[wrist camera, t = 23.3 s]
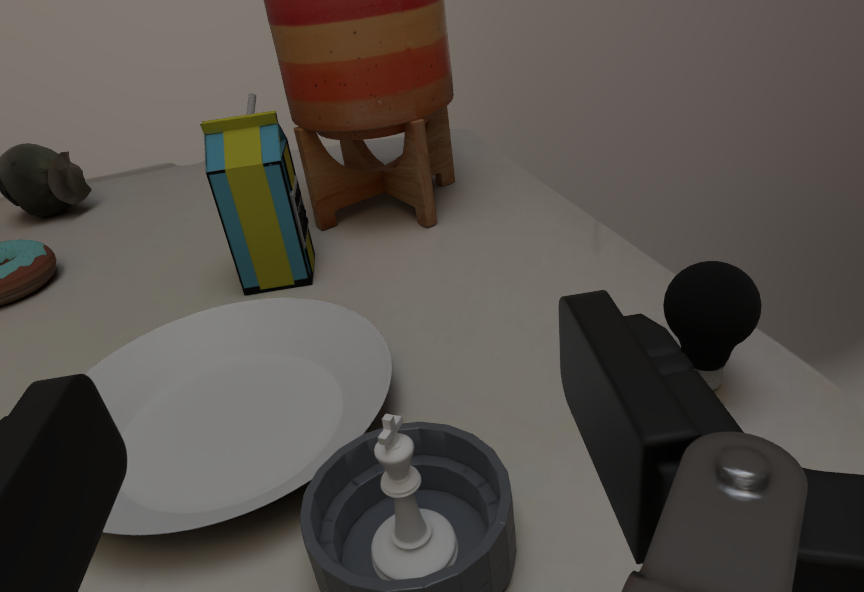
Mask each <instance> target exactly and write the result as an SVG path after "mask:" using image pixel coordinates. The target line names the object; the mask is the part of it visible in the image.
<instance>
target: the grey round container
mask: <svg viewBox="0 0 864 592" xmlns="http://www.w3.org/2000/svg"><path fill="white" fill-rule="evenodd" d="M383 429H384V428H381V429H378V430H375V431H372V432H369V433H366V434H364V435H361V436H359V437H358V438H356V439H354V440H353V441H351V442H349V443H348V444H346V445H344V446H343V447H341V448H339V449H338V450H337V451H336V452H335V453H334V454H333V455H332V456H331V457H330V458H329V459H328V460H327V461H326V462H325V463H324V464H323V465H322V466H321V467H320V468H318V470H317V471H316V473H315V475H314V477H313V478H312V480H311V482H310V484H309V486H308V487H307V489H306V491H305V493H304V496H303V502H302V508H301V513H300V521H299V522H300V526H301V531H302V535H303V539H304V544H305V547H306V550H307V553H308V556H309V559H310V562H311V565H312V568H313V571H314V574H315V577H316V580H317V583H318V586H319V589H320V592H503V591H504V589H505V587H506V586H507V584H508V582H509V581H510V578H511V575H512V570H513V565H514V560H515V555H516V539H515V527H514V514H513V501H512V493H511V487H510V482H509V476H508V472H507V470H506V468H505V467H504V465H503V464H502V462H501V461H500V459H499V457H498V456H497V454H496V453H495V451H494V450H493V449H492V448H491V447H489V446H488V445H487V444H485V443H484V442H483V441H481V440H480V439H479V438H478V437H476V436H475V435H473V434H471V433H468V432H466V431H463V430H460V429H458V428H455V427H452V426H450V425H445V424H436V423H427V422H413V423H404V424H402V425H401V426H400V428H399V429H398V431H397V433H400V434H404V435H407V436H408V437H410V438H411V440H412V441H413V444H414V452H413V456H412V458H411V464H410V465H411V466H413V467H414V468H416V469H417V471H418V472H419V474H420V476H421V484H420V486H419V488H418V489H417V490H416V491H415V492H414V496H415V499H416V502H417V505H418V507H419V509H428V510H432V511H434V512H437V513H439V514H440V515H442V516H443V517H445V518H446V519H447V520H448V521H449V523H450V524H451V526H452V527H453V529H454V532H455V535H456V537H457V541H458V555H457V558H456V561H455V563H454V565H451V566H449V567H446V568H444V569H441V570H439V571H436V572H434V573H431V574H429V575H426V576H424V577H419V578H409V579H400V580H390V581H387V580H382V579H381V578H380V577H379V576H378V574H377V573H376V571H375V569H374V567H373V564H372V553H371V546H372V541H373V538H374V535H375V533H376V531H377V530H378V528H379V527H380V526H381V525H382V523H383V522H385V521H386V520H387V519H388V518H390V517H391V516H393V515H394V514H395V505H394V498H393V497H390V496H387V495H386V494H385V493H384V492H383V491H382V489H381V485H380V483H381V478H382V475H383V474H384V472H385V469H384V467H383V466H382V465H381V464H380V463H379V461H378V460H377V458H376V457H375V454H374V448H375V445H376V444H377V442H378V436H379V435H380V433H381V432H382V431H383Z"/></svg>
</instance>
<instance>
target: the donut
mask: <svg viewBox="0 0 864 592" xmlns="http://www.w3.org/2000/svg"><path fill="white" fill-rule="evenodd" d="M55 270H56V257H55V254H54V253H53V251H52V250H51V249H50V248H49V247H48V246H46V245H44V244H43V243H41V242H38V241H33V240H11V241H4V242H0V306H1V305H4V304H7V303H10V302H13V301H15V300H18V299H20V298H23V297H25V296H27V295H29V294H31V293H32V292H34V291H36V290H37V289H39V288H40V287H41V286H43V285H44V284H45V283H46V282H47V281H48V280H49V279H50V278H51V277H52V276H53V274H54V272H55Z"/></svg>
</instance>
